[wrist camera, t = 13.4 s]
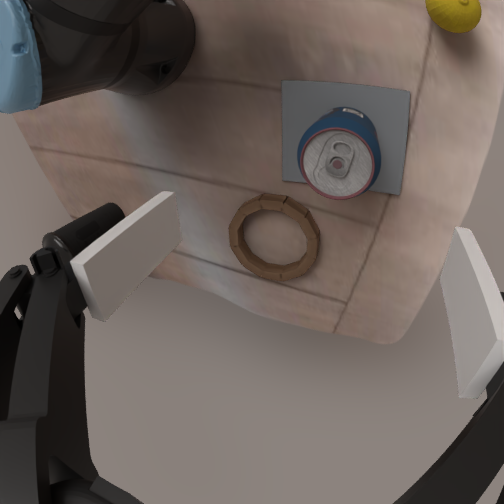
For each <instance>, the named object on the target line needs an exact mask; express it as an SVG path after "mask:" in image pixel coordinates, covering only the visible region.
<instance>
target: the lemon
mask: <svg viewBox="0 0 504 504" xmlns="http://www.w3.org/2000/svg"><path fill="white" fill-rule="evenodd" d="M425 2H426V8H427V11H428V14H429V15H430V17H431V18H432V20H433V21H434V22H435V23H436V24H437V25H438V26H440V27H441V28H443V29H445V30H447V31H450V32H454V33H464V32H468V31H470V30H472V29H473V28H475V27H476V25H477V24H478V23H479V21H480V18H481V6H480V2H479V0H425Z"/></svg>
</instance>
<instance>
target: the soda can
mask: <svg viewBox="0 0 504 504" xmlns="http://www.w3.org/2000/svg"><path fill="white" fill-rule="evenodd" d="M297 161H298V166H299V169H300V172H301V174H302V176H303V178H304V179H305V181H306V182H307V183H308V185H309V186H310V187H311V188H312V189H313V190H314V191H315V192H317V193H318V194H320V195H322V196H324V197H326V198H330V199H335V200H345V199H350V198H353V197H356V196H358V195H361V194H362V193H364V192H366V191H367V190H368V189H369V188H370V187H371V186H372V185H373V184H374V183H375V181H376V179H377V177H378V175H379V172H380V169H381V152H380V147H379V142H378V137H377V132H376V129H375V127H374V125H373V123H372V121H371V120H370V119H369V118H368V117H367V116H366V115H365V114H364V113H362V112H361V111H359V110H357V109H354V108H351V107H336V108H333V109H330V110H328V111H327V112H325V113H324V114H323V115H322V116H320V117H319V118H318V119H317V120H316V121H315V122H314V123H313V124H312V125H311V126H310V127H309V128H308V129H307V130H306V132H305V133H304V134H303V136H302V138H301V140H300V142H299V145H298V150H297Z"/></svg>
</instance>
